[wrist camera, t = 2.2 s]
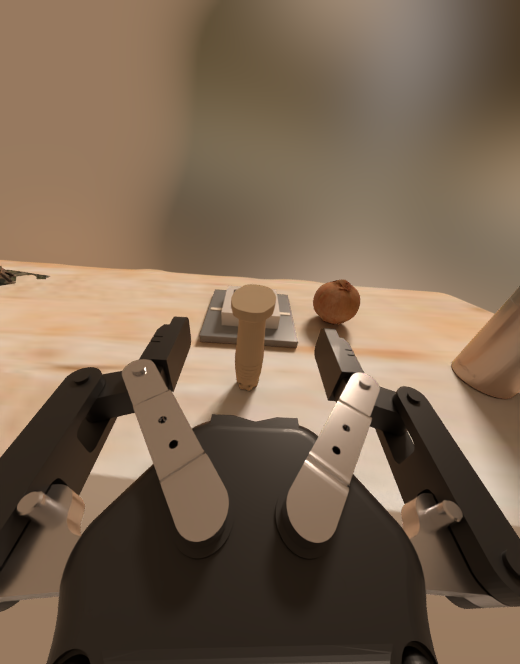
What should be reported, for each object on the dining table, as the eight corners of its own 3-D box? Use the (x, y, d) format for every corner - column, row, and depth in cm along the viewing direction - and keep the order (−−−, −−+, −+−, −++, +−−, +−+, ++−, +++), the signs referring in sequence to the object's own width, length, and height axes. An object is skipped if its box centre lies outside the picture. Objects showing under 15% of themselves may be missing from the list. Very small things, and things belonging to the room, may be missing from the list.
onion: (359, 328, 48) (378, 287, 42) (326, 337, 45) (341, 293, 39) (331, 307, 55) (344, 268, 49) (300, 313, 51) (310, 272, 45)
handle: (225, 396, 31) (224, 307, 22) (237, 365, 36) (240, 282, 27) (258, 404, 31) (270, 316, 22) (266, 371, 36) (279, 288, 27)
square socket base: (286, 300, 56) (289, 283, 53) (296, 347, 41) (301, 328, 39) (215, 294, 54) (214, 277, 52) (200, 341, 40) (198, 321, 37)
